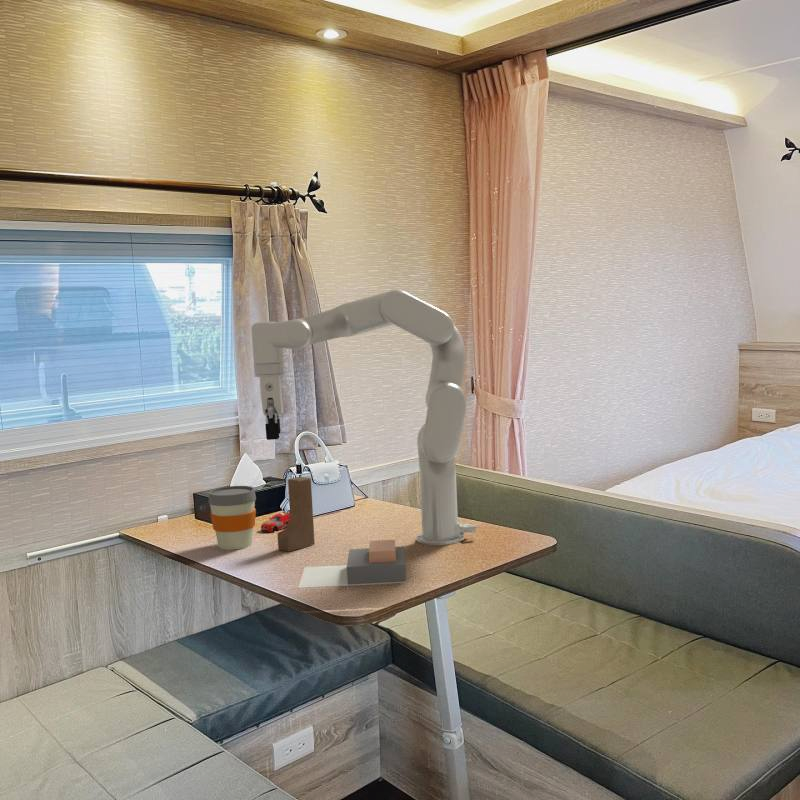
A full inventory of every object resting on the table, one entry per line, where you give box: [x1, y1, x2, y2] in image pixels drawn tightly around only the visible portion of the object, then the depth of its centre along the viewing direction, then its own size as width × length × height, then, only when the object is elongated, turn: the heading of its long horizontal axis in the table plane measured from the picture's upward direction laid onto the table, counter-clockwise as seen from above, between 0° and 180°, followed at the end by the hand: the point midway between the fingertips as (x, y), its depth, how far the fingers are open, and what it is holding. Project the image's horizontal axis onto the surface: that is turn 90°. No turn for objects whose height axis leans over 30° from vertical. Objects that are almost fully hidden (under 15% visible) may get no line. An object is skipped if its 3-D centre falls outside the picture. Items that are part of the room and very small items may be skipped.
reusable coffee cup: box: [208, 485, 257, 551], centre depth 220 cm, size 12×13×15 cm
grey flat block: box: [346, 546, 407, 586], centre depth 189 cm, size 13×14×4 cm
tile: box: [368, 539, 396, 563], centre depth 189 cm, size 6×9×2 cm, turn 1°
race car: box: [260, 512, 290, 533], centre depth 238 cm, size 13×5×4 cm, turn 141°
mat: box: [297, 564, 407, 589], centre depth 190 cm, size 24×15×1 cm, turn 91°
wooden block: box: [277, 476, 315, 553], centre depth 215 cm, size 9×4×18 cm, turn 136°
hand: (273, 436), depth 211 cm, fingers open, 9 cm apart
